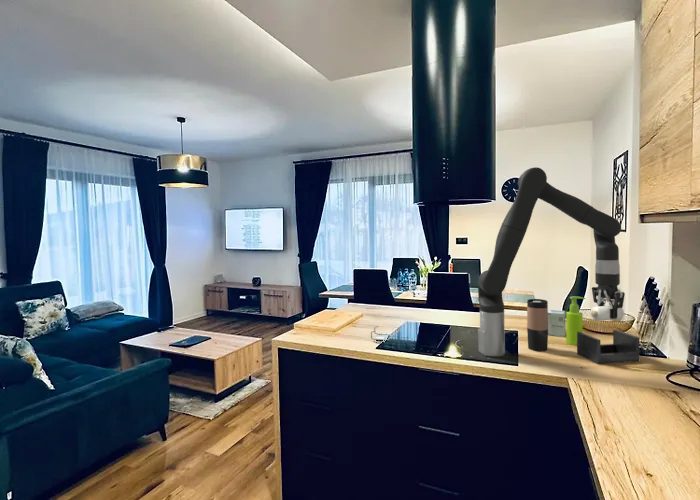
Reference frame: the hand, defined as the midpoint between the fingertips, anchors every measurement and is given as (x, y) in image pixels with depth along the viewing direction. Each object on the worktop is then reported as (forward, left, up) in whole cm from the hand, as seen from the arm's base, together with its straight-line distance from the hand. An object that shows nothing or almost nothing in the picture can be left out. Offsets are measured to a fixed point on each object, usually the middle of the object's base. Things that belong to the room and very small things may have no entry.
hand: (607, 316), depth 141 cm
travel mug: (-19, +14, -16) cm, 29 cm away
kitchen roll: (0, 0, +1) cm, 1 cm away
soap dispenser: (0, +18, -16) cm, 24 cm away
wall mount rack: (-78, +39, -16) cm, 88 cm away
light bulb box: (-1, +33, -16) cm, 37 cm away
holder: (0, 0, -16) cm, 16 cm away
